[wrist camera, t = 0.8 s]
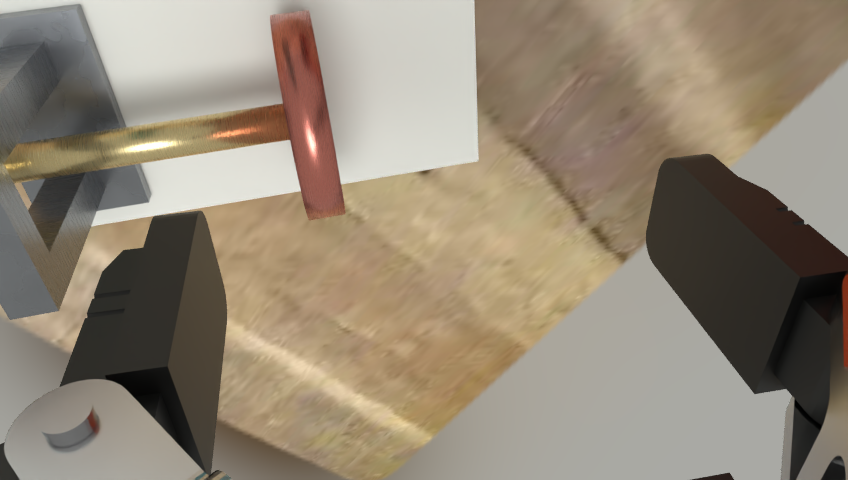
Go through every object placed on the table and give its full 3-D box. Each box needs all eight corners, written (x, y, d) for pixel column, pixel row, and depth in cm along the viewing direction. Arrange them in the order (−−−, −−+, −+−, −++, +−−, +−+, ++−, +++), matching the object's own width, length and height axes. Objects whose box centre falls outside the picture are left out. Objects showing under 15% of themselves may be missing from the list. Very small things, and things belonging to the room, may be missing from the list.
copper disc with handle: (303, -14, 33) (318, 49, 25) (333, 157, 39) (352, 253, 31) (-69, 34, 31) (-182, 120, 23) (21, 208, 37) (-44, 325, 29)
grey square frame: (80, 3, 32) (6, 92, 23) (151, 193, 38) (117, 323, 29) (-50, 20, 31) (-181, 119, 22) (45, 211, 38) (-26, 350, 28)
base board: (467, -81, 34) (472, -78, 34) (474, 154, 43) (478, 161, 42) (-58, -18, 31) (-66, -12, 30) (59, 223, 39) (55, 232, 38)
